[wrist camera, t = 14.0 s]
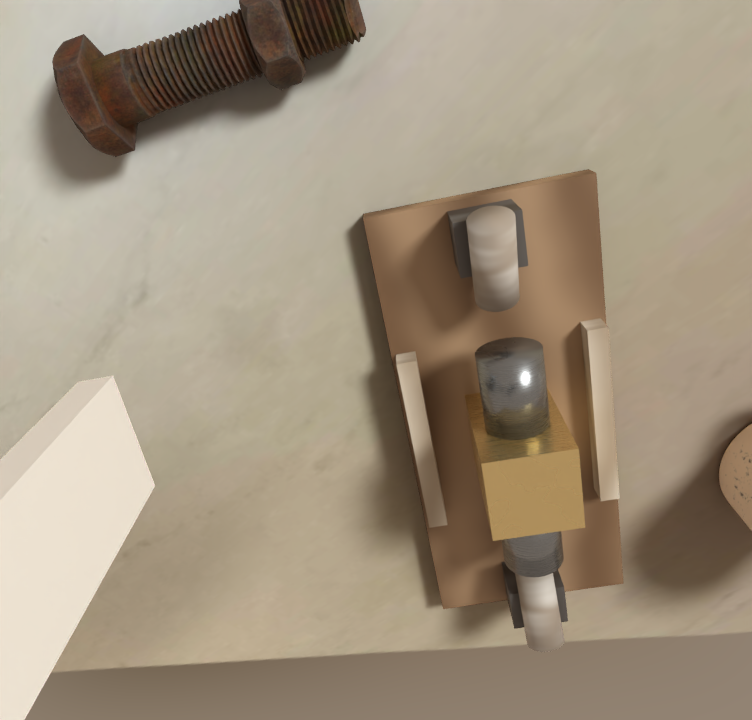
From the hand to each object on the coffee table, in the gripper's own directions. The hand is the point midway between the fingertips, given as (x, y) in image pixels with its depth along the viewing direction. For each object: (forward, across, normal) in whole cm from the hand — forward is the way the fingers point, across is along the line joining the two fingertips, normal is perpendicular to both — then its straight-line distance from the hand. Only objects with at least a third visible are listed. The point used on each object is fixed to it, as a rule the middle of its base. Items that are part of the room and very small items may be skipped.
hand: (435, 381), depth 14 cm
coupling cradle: (+27, +4, -16) cm, 31 cm away
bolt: (+27, -8, +8) cm, 29 cm away
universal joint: (+25, +4, -16) cm, 30 cm away
